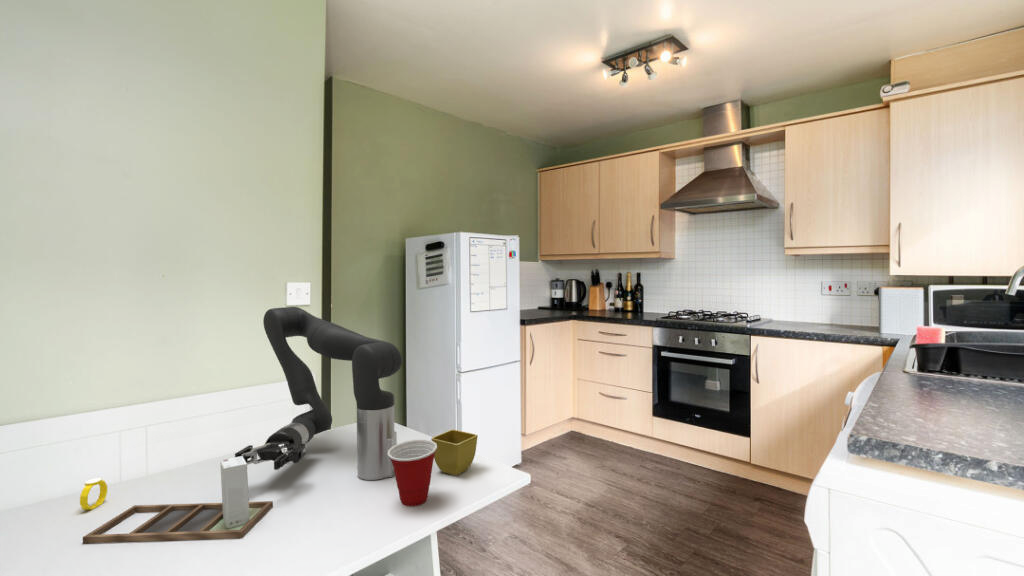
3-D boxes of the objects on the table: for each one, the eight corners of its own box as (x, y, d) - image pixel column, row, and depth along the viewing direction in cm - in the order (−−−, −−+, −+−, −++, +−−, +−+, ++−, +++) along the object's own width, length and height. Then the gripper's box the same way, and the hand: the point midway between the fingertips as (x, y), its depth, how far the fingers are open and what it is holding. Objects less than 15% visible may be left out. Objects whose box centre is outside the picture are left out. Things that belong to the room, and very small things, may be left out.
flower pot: (479, 468, 121) (478, 434, 121) (457, 481, 113) (457, 444, 113) (452, 462, 125) (452, 429, 125) (430, 473, 118) (430, 438, 118)
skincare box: (250, 523, 94) (249, 463, 94) (224, 530, 91) (223, 468, 91) (245, 511, 98) (244, 454, 98) (220, 518, 96) (219, 459, 96)
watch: (91, 514, 99) (89, 487, 99) (76, 515, 99) (74, 488, 99) (111, 499, 105) (109, 474, 105) (98, 500, 105) (96, 474, 105)
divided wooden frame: (272, 506, 101) (272, 501, 101) (241, 538, 88) (241, 531, 88) (134, 511, 100) (134, 505, 100) (82, 543, 87) (82, 537, 87)
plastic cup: (378, 501, 103) (377, 447, 103) (418, 486, 111) (418, 435, 111) (406, 518, 95) (405, 460, 95) (447, 499, 103) (447, 446, 103)
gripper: (259, 427, 118) (222, 450, 102) (316, 426, 119) (288, 448, 102) (259, 457, 118) (222, 484, 102) (316, 455, 119) (289, 482, 102)
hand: (255, 466), depth 102 cm, fingers open, 8 cm apart
